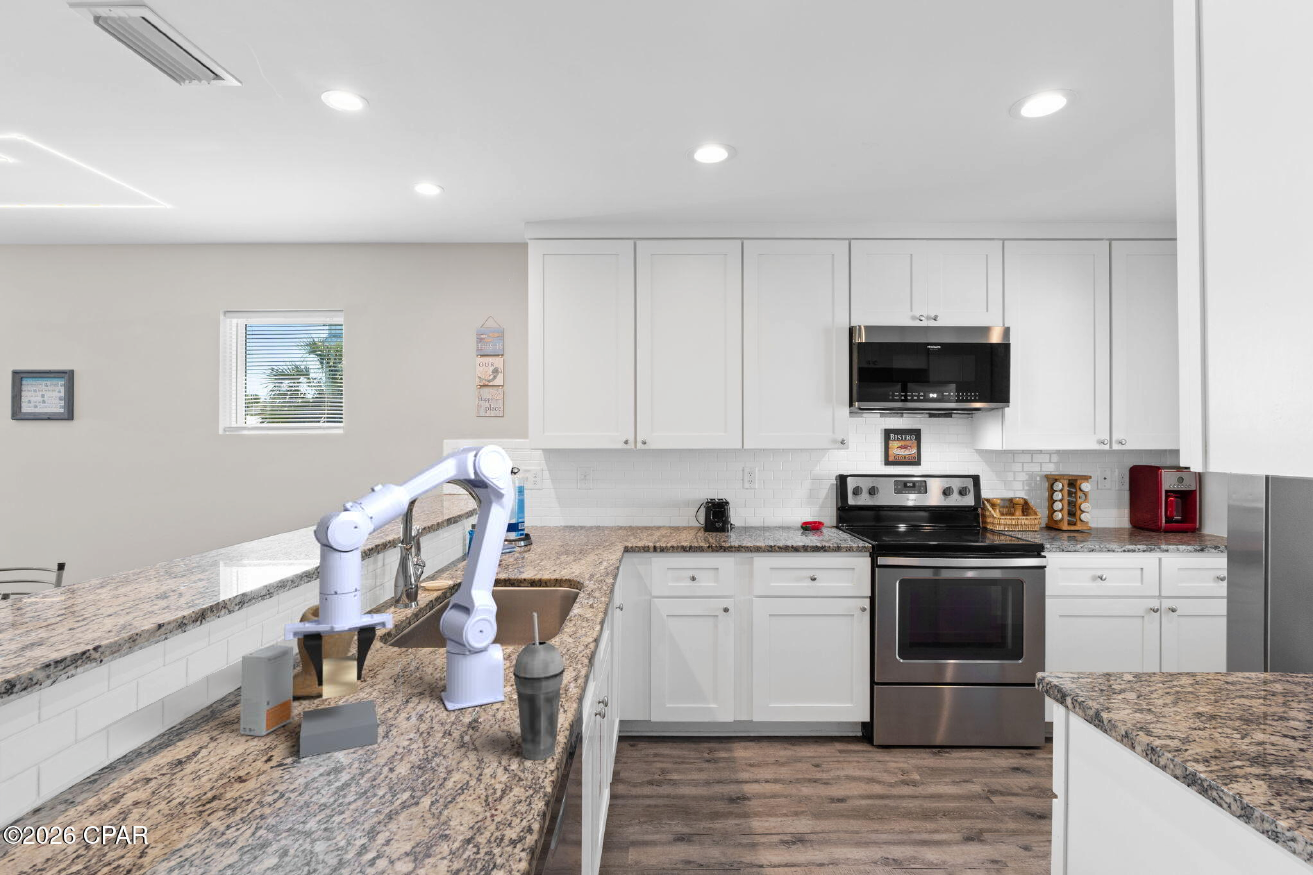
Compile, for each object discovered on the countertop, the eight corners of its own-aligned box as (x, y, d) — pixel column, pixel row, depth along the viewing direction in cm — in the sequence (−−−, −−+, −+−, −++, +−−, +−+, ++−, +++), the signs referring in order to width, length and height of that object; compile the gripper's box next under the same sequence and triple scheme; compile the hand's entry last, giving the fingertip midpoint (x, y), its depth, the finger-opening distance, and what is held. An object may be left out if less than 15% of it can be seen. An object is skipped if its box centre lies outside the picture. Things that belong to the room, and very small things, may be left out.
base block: (373, 718, 102) (373, 699, 102) (377, 743, 93) (377, 722, 94) (302, 730, 98) (303, 711, 98) (299, 758, 89) (300, 736, 89)
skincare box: (263, 737, 96) (264, 657, 96) (239, 735, 97) (240, 655, 97) (293, 720, 102) (294, 645, 102) (271, 718, 103) (271, 644, 103)
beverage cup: (573, 745, 92) (573, 606, 93) (549, 768, 86) (549, 619, 86) (529, 738, 95) (529, 603, 95) (502, 760, 88) (502, 615, 88)
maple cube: (355, 683, 99) (356, 654, 99) (356, 693, 95) (356, 663, 95) (323, 688, 97) (323, 659, 97) (322, 698, 93) (323, 667, 93)
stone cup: (338, 701, 110) (338, 614, 110) (268, 702, 109) (269, 614, 110) (376, 671, 125) (376, 595, 125) (315, 672, 125) (315, 595, 125)
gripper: (283, 601, 89) (282, 698, 89) (394, 590, 96) (393, 681, 96) (286, 591, 96) (285, 682, 95) (390, 582, 102) (390, 667, 102)
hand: (339, 681), depth 96 cm, fingers closed on maple cube, 4 cm apart
